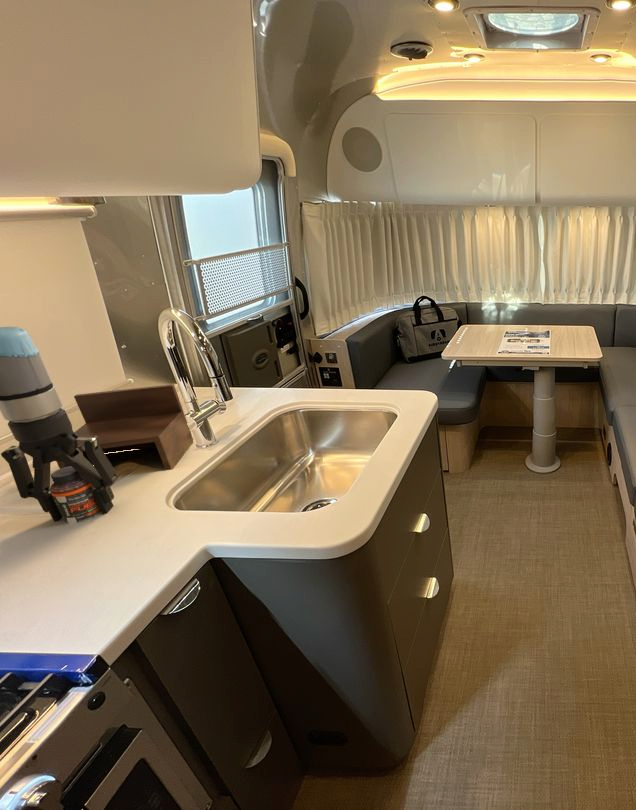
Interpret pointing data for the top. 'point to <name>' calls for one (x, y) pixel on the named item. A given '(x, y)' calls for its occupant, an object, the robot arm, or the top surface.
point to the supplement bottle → (73, 496)
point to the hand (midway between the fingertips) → (87, 519)
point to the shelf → (136, 422)
